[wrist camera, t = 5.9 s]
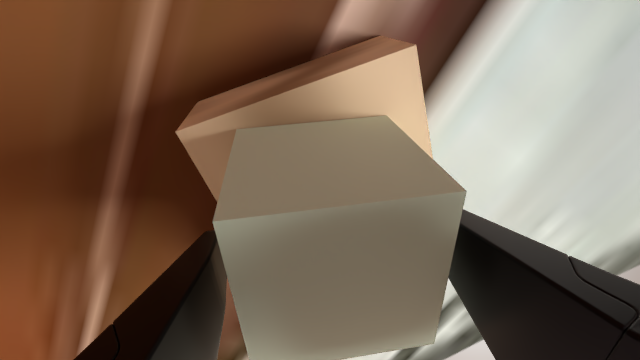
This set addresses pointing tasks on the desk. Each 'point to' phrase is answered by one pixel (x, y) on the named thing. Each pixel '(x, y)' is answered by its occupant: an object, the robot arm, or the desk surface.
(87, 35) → the desk surface
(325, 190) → the cube
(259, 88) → the oak block
